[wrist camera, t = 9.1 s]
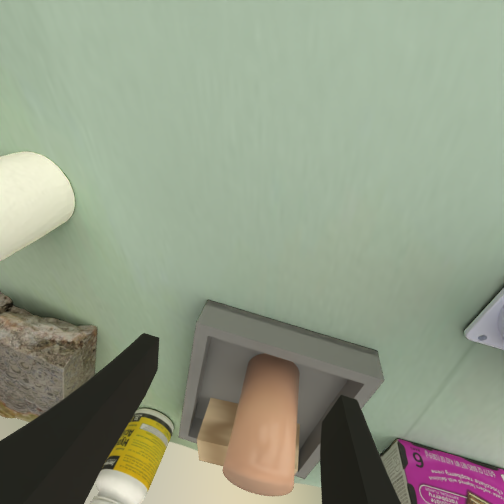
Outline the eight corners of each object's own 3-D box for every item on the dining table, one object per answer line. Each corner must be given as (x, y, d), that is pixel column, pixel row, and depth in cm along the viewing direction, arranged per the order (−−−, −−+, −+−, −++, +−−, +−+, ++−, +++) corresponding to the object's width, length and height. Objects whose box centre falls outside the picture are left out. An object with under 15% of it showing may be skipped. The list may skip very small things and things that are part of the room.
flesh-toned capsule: (302, 358, 23) (296, 470, 16) (297, 391, 25) (290, 502, 19) (247, 349, 24) (221, 453, 17) (247, 382, 26) (224, 486, 19)
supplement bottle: (141, 400, 33) (83, 506, 24) (181, 421, 34) (138, 532, 25) (128, 417, 36) (71, 518, 27) (165, 437, 36) (121, 540, 28)
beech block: (248, 405, 28) (239, 449, 25) (247, 427, 30) (239, 470, 27) (210, 397, 29) (196, 439, 25) (211, 419, 31) (199, 460, 27)
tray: (377, 350, 22) (384, 380, 20) (305, 451, 32) (304, 479, 29) (207, 299, 23) (196, 322, 20) (187, 413, 32) (178, 437, 30)
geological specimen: (61, 360, 23) (63, 447, 30) (106, 311, 28) (98, 395, 35) (-68, 315, 22) (-35, 414, 30) (2, 274, 28) (16, 367, 35)
